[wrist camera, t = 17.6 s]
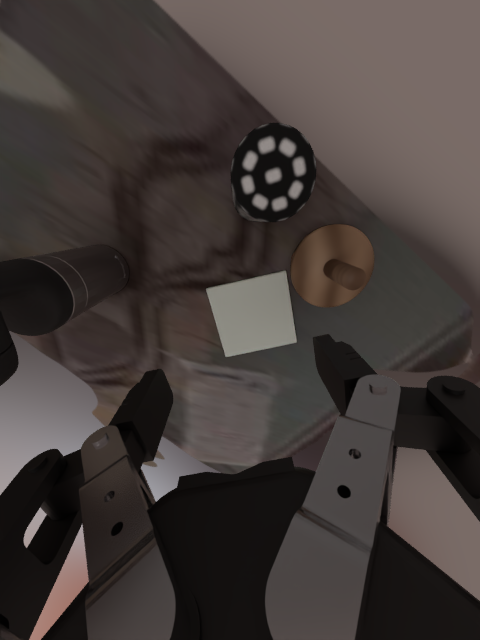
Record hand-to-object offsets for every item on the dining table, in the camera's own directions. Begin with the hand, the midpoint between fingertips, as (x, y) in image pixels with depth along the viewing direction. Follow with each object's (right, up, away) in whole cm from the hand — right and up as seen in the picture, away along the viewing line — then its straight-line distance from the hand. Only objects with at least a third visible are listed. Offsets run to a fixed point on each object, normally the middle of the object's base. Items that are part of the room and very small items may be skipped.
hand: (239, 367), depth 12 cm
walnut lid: (+16, +12, +29) cm, 35 cm away
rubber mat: (+3, +3, +38) cm, 38 cm away
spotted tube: (+3, +24, +29) cm, 38 cm away
